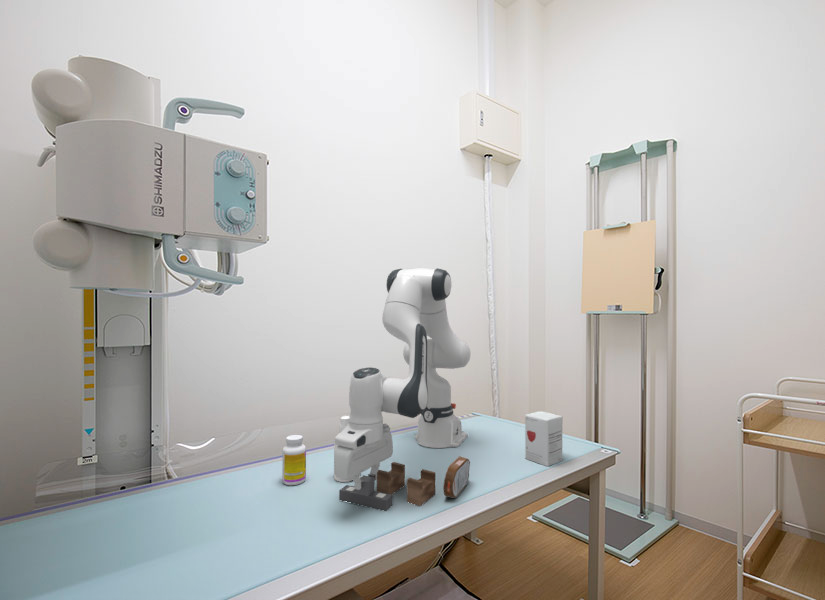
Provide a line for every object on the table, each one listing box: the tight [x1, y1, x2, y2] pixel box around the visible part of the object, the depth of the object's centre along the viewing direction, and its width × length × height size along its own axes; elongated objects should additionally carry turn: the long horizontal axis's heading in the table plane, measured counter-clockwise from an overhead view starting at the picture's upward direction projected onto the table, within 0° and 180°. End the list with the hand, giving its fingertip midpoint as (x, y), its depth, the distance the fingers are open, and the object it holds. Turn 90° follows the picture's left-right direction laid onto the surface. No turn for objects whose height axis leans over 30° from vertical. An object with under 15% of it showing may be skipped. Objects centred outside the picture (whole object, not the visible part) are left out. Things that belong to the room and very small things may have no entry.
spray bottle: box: [333, 415, 353, 483], centre depth 123 cm, size 7×7×18 cm
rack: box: [376, 461, 437, 507], centre depth 112 cm, size 8×14×6 cm, turn 57°
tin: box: [443, 456, 471, 499], centre depth 114 cm, size 15×3×8 cm, turn 154°
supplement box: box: [524, 410, 563, 467], centre depth 137 cm, size 9×9×15 cm
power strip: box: [338, 475, 394, 512], centre depth 107 cm, size 4×14×6 cm, turn 66°
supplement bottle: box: [281, 434, 307, 486], centre depth 120 cm, size 7×7×13 cm
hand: (365, 484), depth 107 cm, fingers open, 4 cm apart
